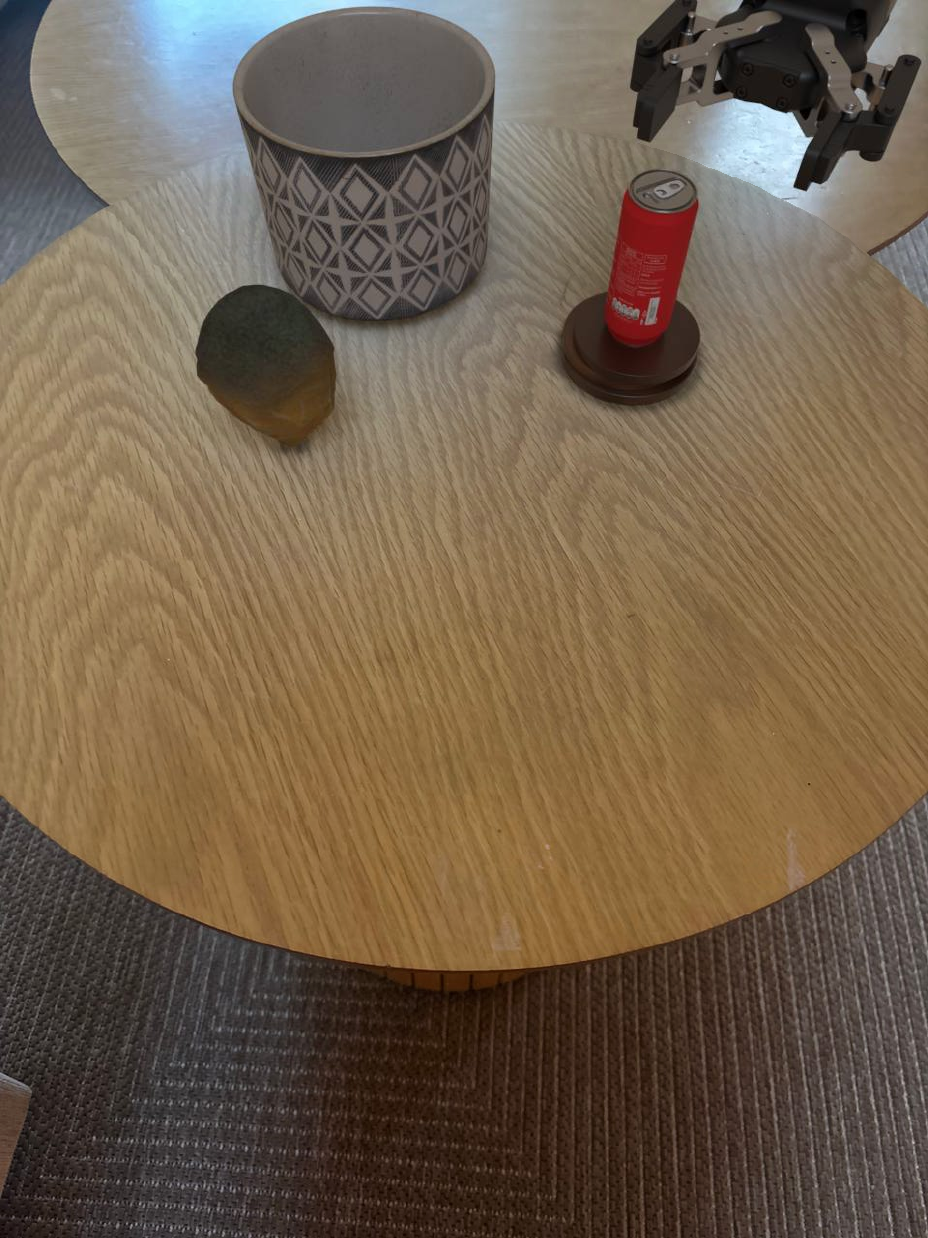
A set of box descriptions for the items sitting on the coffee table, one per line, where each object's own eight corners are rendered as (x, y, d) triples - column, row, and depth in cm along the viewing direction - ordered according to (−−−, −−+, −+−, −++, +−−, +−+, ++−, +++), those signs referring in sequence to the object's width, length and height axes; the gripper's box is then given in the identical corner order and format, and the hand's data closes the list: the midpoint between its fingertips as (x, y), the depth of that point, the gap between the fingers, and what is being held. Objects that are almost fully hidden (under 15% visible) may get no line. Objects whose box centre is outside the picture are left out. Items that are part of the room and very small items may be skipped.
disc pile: (702, 321, 75) (710, 293, 73) (685, 417, 70) (694, 389, 67) (574, 300, 77) (577, 271, 74) (548, 391, 71) (551, 364, 69)
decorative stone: (350, 412, 70) (322, 252, 57) (351, 473, 68) (322, 318, 54) (228, 421, 70) (172, 261, 57) (224, 482, 67) (164, 328, 54)
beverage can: (589, 320, 71) (609, 183, 61) (639, 295, 73) (667, 157, 62) (630, 359, 69) (658, 223, 59) (681, 332, 70) (717, 195, 60)
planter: (489, 342, 74) (492, 157, 60) (261, 338, 75) (210, 153, 60) (493, 196, 84) (497, 6, 69) (291, 193, 84) (253, 4, 70)
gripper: (724, -105, 50) (604, 32, 43) (980, -46, 47) (894, 113, 40) (695, 36, 57) (586, 175, 50) (917, 97, 53) (834, 256, 46)
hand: (723, 147), depth 45 cm, fingers open, 8 cm apart
